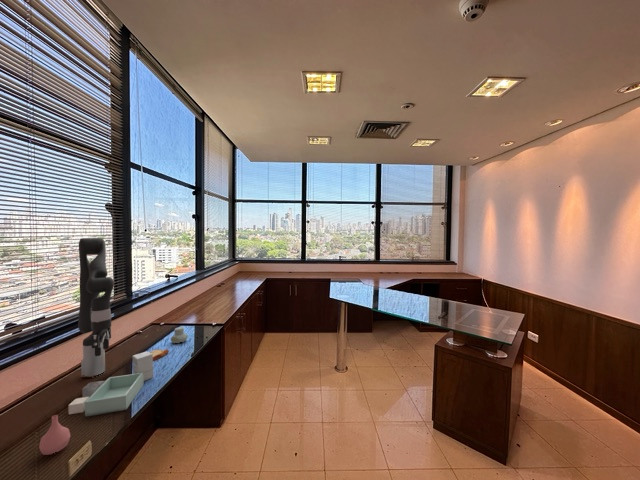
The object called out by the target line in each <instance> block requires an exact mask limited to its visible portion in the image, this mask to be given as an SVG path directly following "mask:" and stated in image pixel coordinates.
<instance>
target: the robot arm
mask: <svg viewBox="0 0 640 480" xmlns="http://www.w3.org/2000/svg"><path fill="white" fill-rule="evenodd" d="M106 249H107V247H106V241H105V240H104V239H103V238H101V237H100V238H99V237H82V238H80V239H79V241H78V255H79V310H78V317H77V318H78V319H77V321H78V322H77V325H78V326H77V328H78V330H79V332H80V333H82V334H88V333H90V334H89V335H88V336H86V337H85V338H84V339H83V340H82V359H81V361H80V363H81V364H80V367H81V369H80V370H81V376H82V375H85V376H93V375H98V374H101V373H103V372H104V371H105V372H106V353H105V352H106V351H105V350H108V349H110V339H111V338H112V312H111V297H112V293H113V289H114V286H115V281H114V279H113V277H110V276H108V270H107V266H106V265H107V264H106V260H107V258H106V257H107V254H106V253H107V251H106ZM95 255H97V256H95ZM88 256H95V257H94V258H93V259H92V260H91V261H89V259H88ZM101 293H104V294H103V295H101V296H99V295H100V294H101ZM105 372H104V373H105ZM104 373H103V374H104ZM101 375H102V374H101Z"/></svg>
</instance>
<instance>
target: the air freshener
mask: <svg viewBox="0 0 640 480" xmlns="http://www.w3.org/2000/svg"><path fill="white" fill-rule="evenodd" d="M184 330H185V328H184V327H183V326H182V327H181V326H180V327H179V326H177V327H175V328H174V334H173V335H172V336H171V337H170V341H171V342H172V343H173V344H175V343H178V344H181V343H180V342H182V343H184V342H186V341H187V339H188V337H189V336H188V334H186V333H185V331H184Z"/></svg>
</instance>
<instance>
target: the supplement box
mask: <svg viewBox="0 0 640 480" xmlns="http://www.w3.org/2000/svg"><path fill="white" fill-rule="evenodd" d="M150 352H151V351H143V352H140V353H136V354H134V355H132V374H137V373H143V382H145V381H147V380H150V379H152V378H153V379H154V362H153V354H151V353H150Z"/></svg>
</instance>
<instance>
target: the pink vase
mask: <svg viewBox="0 0 640 480" xmlns="http://www.w3.org/2000/svg"><path fill="white" fill-rule="evenodd" d="M71 436H72V435H71V432H70V429H69V428H68V427H65V426H63V425H62V424H60V422H59V415H58V414H55V415H52V416H51V425H50V426H49V428H48V430H47V432H46V433H45V434H44V435H43V436H42V437H41V438H40V442H39V447H38V448H39V450H40V452H41V454H42V455H44V456H46V455H47V456H48V455H54V454H56V453H55V452H57V453H59V452H60V451H61V450H63V449H65V447H67V446H68V445H69V441H70V438H71ZM53 453H54V454H53Z"/></svg>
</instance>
